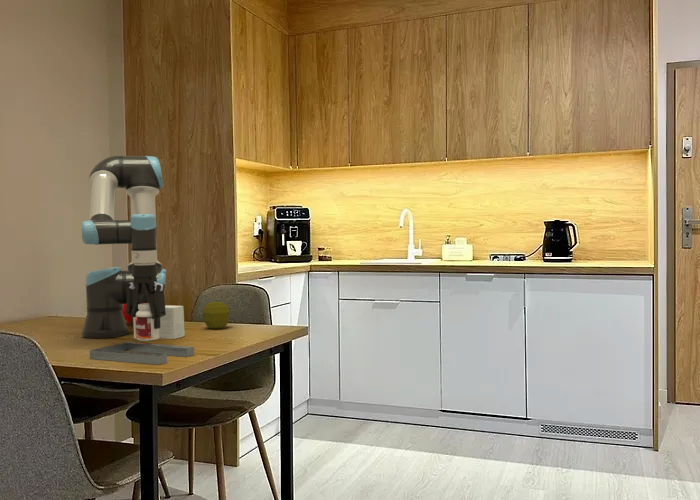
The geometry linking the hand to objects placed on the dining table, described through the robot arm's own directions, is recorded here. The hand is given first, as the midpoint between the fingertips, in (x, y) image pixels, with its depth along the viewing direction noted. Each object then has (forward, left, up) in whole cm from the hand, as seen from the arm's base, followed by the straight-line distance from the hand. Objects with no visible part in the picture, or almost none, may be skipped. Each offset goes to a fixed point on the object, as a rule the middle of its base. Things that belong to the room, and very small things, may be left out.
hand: (146, 338), depth 213 cm
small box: (-5, +17, -3) cm, 19 cm away
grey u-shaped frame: (+11, -14, -3) cm, 17 cm away
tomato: (-39, +40, -3) cm, 57 cm away
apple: (-2, +39, -3) cm, 40 cm away
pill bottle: (0, 0, -1) cm, 1 cm away
